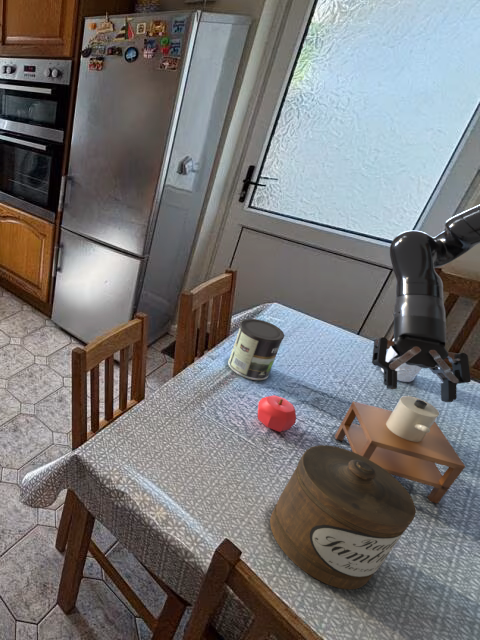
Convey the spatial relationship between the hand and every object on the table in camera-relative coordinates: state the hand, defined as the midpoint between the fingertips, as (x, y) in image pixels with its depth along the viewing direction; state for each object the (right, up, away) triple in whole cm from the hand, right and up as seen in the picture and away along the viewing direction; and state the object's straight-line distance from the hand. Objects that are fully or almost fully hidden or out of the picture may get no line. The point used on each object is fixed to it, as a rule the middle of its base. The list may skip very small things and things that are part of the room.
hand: (419, 395), depth 84 cm
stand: (-1, -18, +7) cm, 20 cm away
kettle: (-1, -9, +1) cm, 9 cm away
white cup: (+30, -5, +33) cm, 45 cm away
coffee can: (-10, -5, +36) cm, 38 cm away
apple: (-17, -13, +18) cm, 28 cm away
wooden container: (-27, -26, -7) cm, 38 cm away
